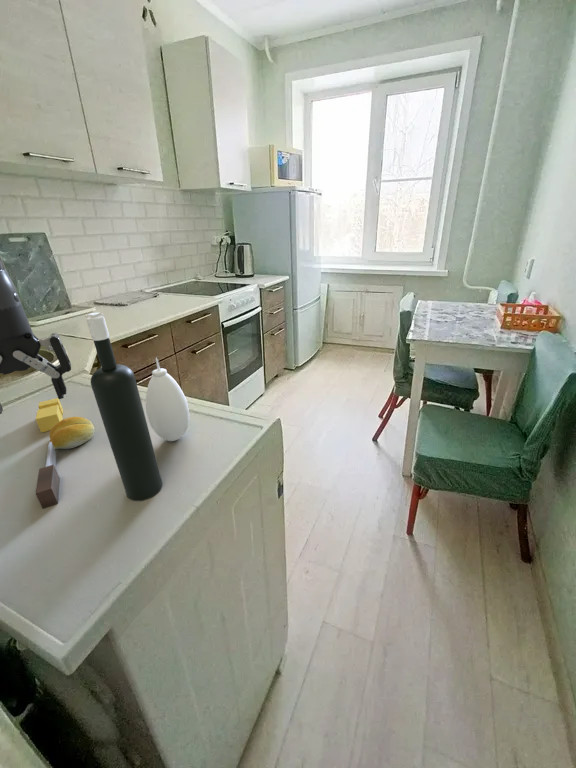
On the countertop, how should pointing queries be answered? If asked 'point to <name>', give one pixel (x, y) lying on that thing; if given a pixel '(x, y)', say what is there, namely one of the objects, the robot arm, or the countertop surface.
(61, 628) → the countertop surface
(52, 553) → the countertop surface
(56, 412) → the butter block
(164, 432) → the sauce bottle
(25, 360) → the robot arm
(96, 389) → the wine bottle
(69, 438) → the bread roll
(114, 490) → the countertop surface
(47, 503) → the knife
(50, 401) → the butter pat
